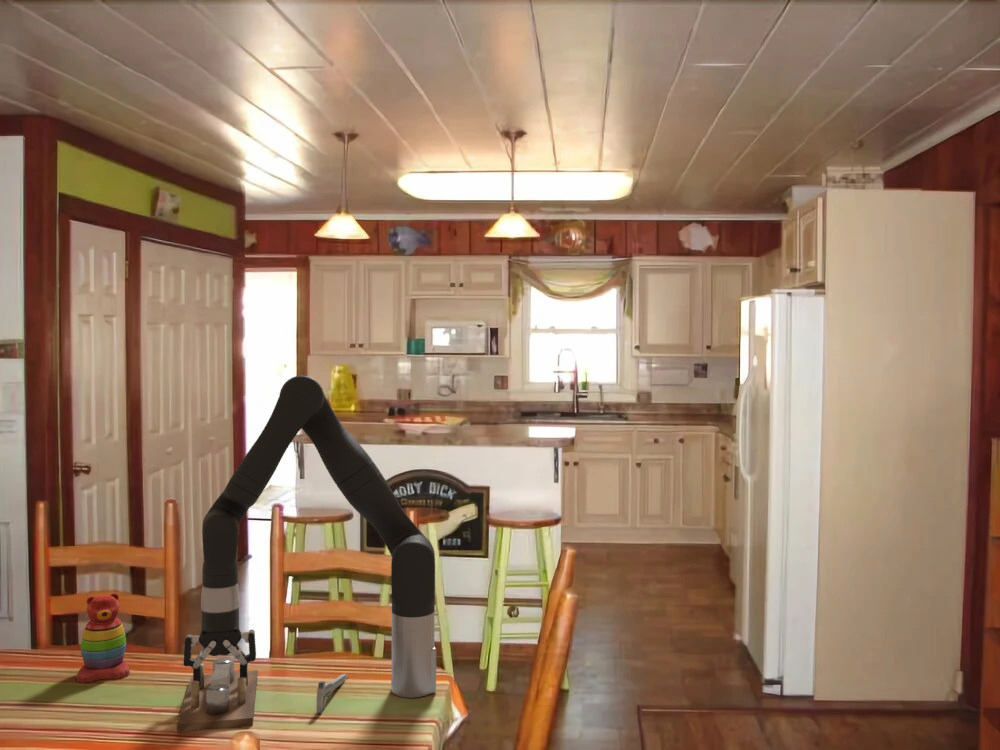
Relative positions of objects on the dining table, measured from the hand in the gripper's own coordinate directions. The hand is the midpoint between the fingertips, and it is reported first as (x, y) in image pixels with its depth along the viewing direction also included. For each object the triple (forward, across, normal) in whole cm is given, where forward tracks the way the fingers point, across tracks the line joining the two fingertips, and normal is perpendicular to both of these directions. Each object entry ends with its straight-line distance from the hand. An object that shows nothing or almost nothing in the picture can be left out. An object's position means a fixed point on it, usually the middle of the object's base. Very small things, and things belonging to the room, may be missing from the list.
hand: (220, 682), depth 182 cm
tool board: (+4, 0, 0) cm, 4 cm away
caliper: (+5, -23, +1) cm, 24 cm away
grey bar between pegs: (+3, 0, 0) cm, 3 cm away
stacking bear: (+4, +27, -23) cm, 36 cm away
